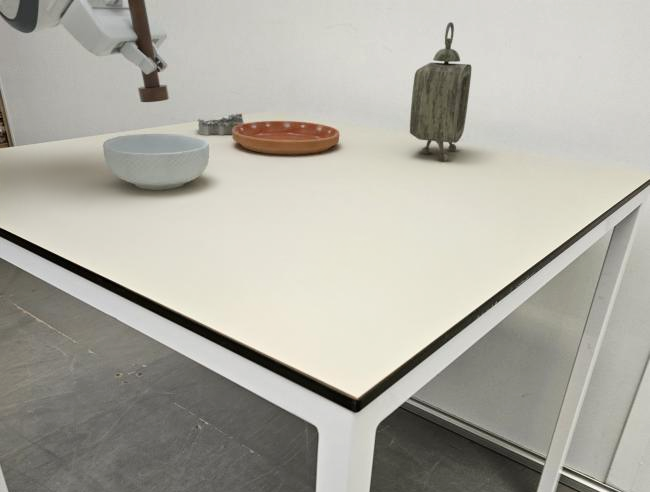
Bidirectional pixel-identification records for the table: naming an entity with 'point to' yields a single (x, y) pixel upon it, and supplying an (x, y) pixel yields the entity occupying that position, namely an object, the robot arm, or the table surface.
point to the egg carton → (220, 125)
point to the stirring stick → (146, 53)
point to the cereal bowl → (157, 159)
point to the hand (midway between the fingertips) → (158, 70)
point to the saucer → (285, 137)
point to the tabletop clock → (440, 99)
